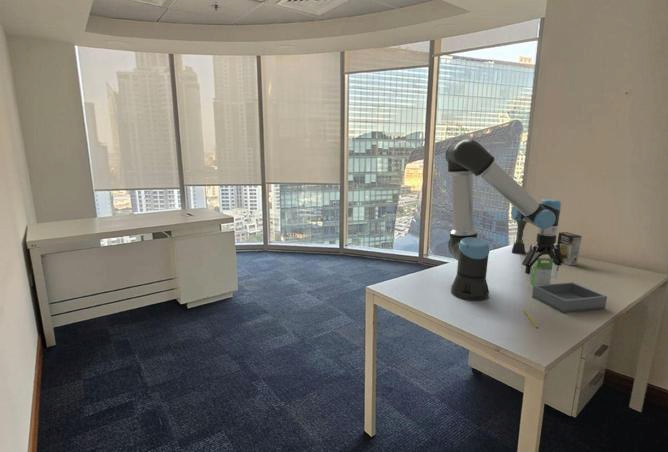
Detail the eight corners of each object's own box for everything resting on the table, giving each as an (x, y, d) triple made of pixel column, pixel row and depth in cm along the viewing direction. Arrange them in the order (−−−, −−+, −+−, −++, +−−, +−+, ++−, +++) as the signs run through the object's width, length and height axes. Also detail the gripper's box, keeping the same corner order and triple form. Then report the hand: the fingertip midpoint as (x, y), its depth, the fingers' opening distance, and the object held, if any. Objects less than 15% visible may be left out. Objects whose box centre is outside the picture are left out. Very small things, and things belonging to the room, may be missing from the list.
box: (563, 313, 144) (565, 301, 142) (532, 297, 159) (533, 285, 158) (605, 308, 148) (607, 296, 147) (570, 293, 164) (572, 282, 163)
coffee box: (554, 260, 211) (558, 232, 207) (562, 259, 212) (567, 231, 209) (568, 265, 202) (572, 236, 199) (577, 264, 204) (582, 235, 200)
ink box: (545, 284, 174) (549, 256, 171) (549, 287, 170) (553, 258, 167) (530, 283, 175) (533, 255, 172) (533, 286, 171) (537, 258, 168)
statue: (524, 251, 228) (531, 202, 221) (525, 254, 221) (531, 204, 215) (511, 250, 231) (517, 201, 224) (512, 253, 224) (518, 203, 218)
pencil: (536, 329, 131) (536, 327, 131) (523, 312, 145) (523, 310, 144) (539, 330, 131) (539, 327, 131) (526, 312, 144) (526, 310, 144)
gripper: (529, 237, 161) (523, 284, 165) (576, 234, 167) (569, 280, 171) (517, 233, 168) (511, 278, 172) (562, 230, 174) (556, 274, 179)
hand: (540, 279), depth 172 cm, fingers open, 13 cm apart
